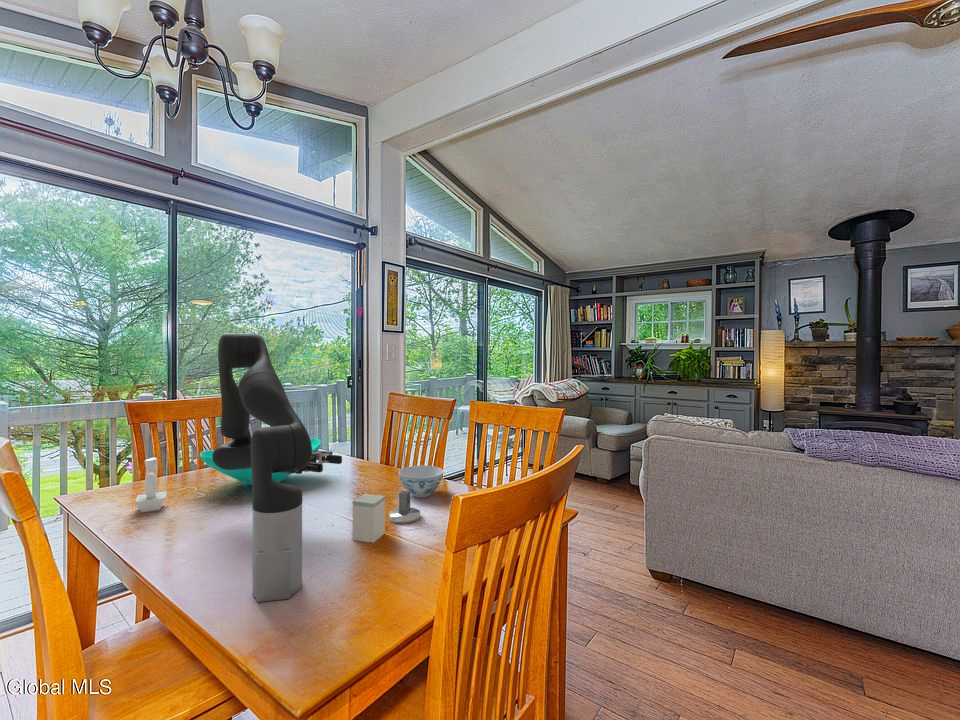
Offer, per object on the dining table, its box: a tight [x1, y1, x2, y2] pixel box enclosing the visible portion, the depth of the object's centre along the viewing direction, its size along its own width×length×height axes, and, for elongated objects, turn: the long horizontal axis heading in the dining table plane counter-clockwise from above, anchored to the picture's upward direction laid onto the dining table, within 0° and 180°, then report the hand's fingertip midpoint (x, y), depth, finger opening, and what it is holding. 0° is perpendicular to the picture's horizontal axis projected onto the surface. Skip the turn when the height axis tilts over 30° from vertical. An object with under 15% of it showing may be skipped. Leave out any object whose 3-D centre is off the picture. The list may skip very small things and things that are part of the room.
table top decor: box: [199, 437, 323, 487], centre depth 160 cm, size 40×28×13 cm
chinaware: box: [398, 465, 445, 498], centre depth 151 cm, size 15×15×8 cm
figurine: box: [134, 457, 168, 513], centre depth 134 cm, size 7×9×15 cm
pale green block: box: [351, 493, 386, 544], centre depth 117 cm, size 6×6×10 cm
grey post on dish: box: [388, 490, 421, 525], centre depth 130 cm, size 9×9×8 cm
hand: (332, 463), depth 120 cm, fingers open, 8 cm apart
